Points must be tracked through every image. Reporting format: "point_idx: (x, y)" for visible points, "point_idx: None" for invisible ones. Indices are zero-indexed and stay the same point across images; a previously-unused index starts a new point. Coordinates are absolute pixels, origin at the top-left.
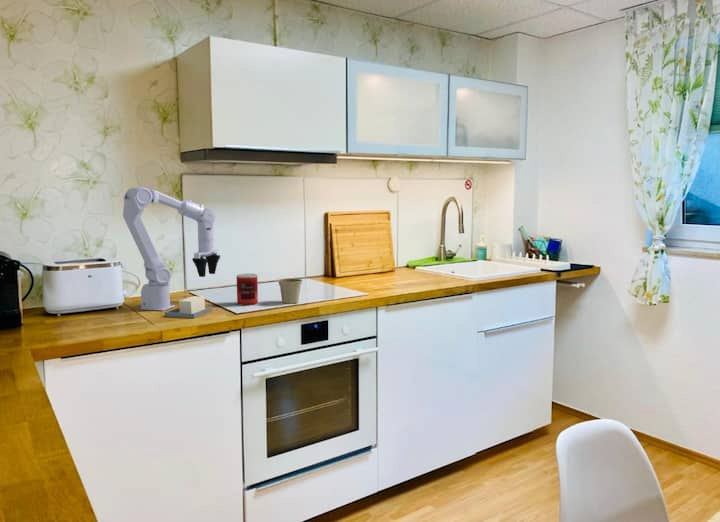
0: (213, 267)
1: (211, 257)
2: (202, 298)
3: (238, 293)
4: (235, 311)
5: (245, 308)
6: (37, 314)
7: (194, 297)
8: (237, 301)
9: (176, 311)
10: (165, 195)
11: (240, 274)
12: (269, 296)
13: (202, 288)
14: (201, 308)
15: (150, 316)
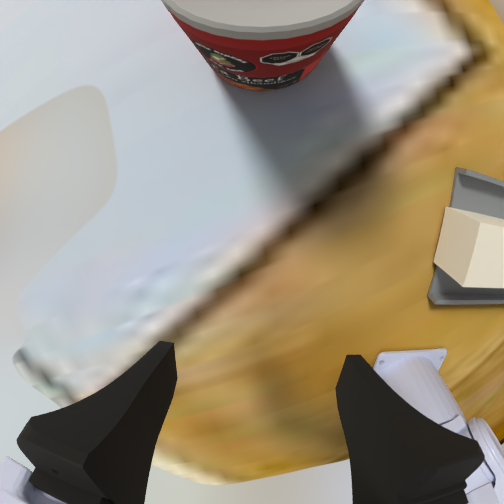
0: (154, 390)
1: (123, 491)
2: (490, 223)
3: (322, 55)
4: (448, 60)
5: (385, 25)
6: None
7: (489, 264)
8: (297, 81)
9: (478, 295)
10: None
11: (219, 15)
12: (68, 36)
13: (34, 375)
14: (471, 212)
15: (497, 336)
